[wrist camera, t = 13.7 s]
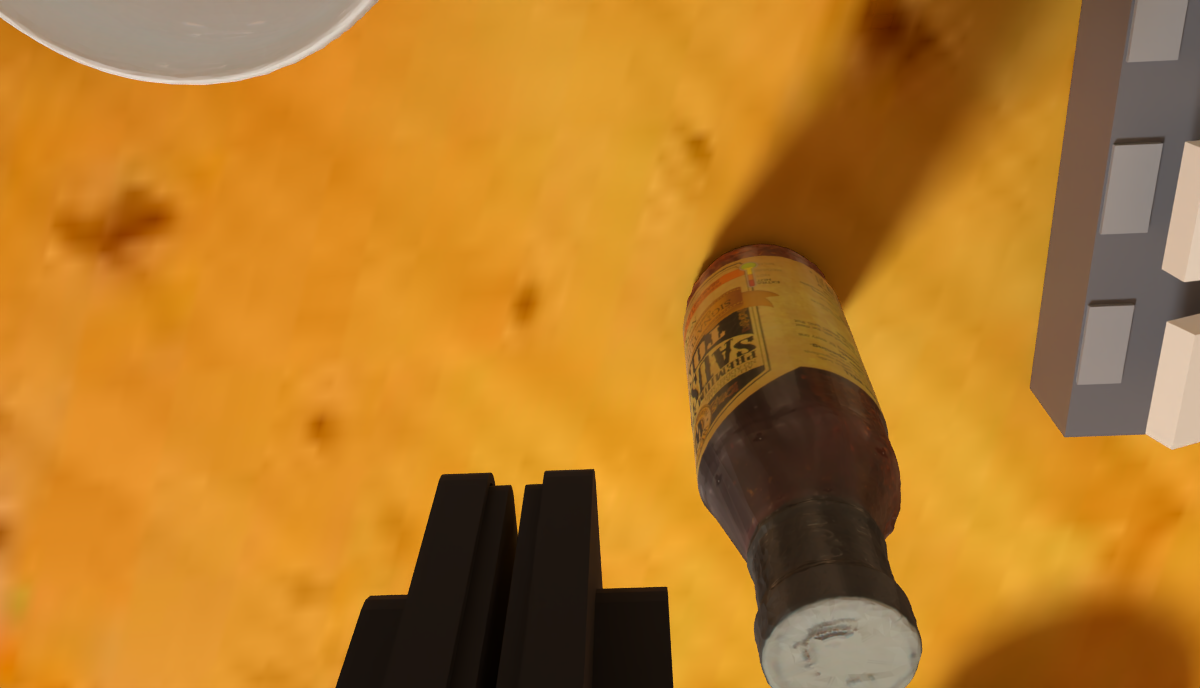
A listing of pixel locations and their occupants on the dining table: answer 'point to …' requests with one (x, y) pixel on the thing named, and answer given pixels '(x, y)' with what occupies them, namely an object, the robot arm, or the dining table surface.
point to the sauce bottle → (798, 470)
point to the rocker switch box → (1117, 215)
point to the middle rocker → (1185, 219)
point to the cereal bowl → (185, 34)
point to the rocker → (1177, 386)
